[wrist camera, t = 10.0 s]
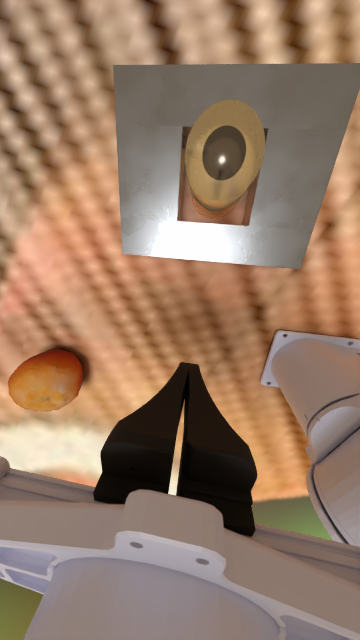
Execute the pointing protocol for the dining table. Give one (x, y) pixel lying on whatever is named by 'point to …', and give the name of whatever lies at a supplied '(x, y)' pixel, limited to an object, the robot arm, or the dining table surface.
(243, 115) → the bushing
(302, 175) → the jig
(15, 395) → the fruit
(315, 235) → the dining table surface
